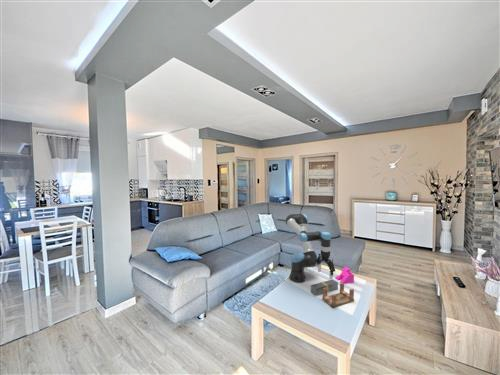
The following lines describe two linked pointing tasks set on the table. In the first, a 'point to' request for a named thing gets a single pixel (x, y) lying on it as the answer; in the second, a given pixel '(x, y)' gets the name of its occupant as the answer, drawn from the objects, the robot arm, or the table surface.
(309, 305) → the table surface
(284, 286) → the table surface
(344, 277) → the bracket
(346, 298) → the stove stand
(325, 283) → the grey metal bar
